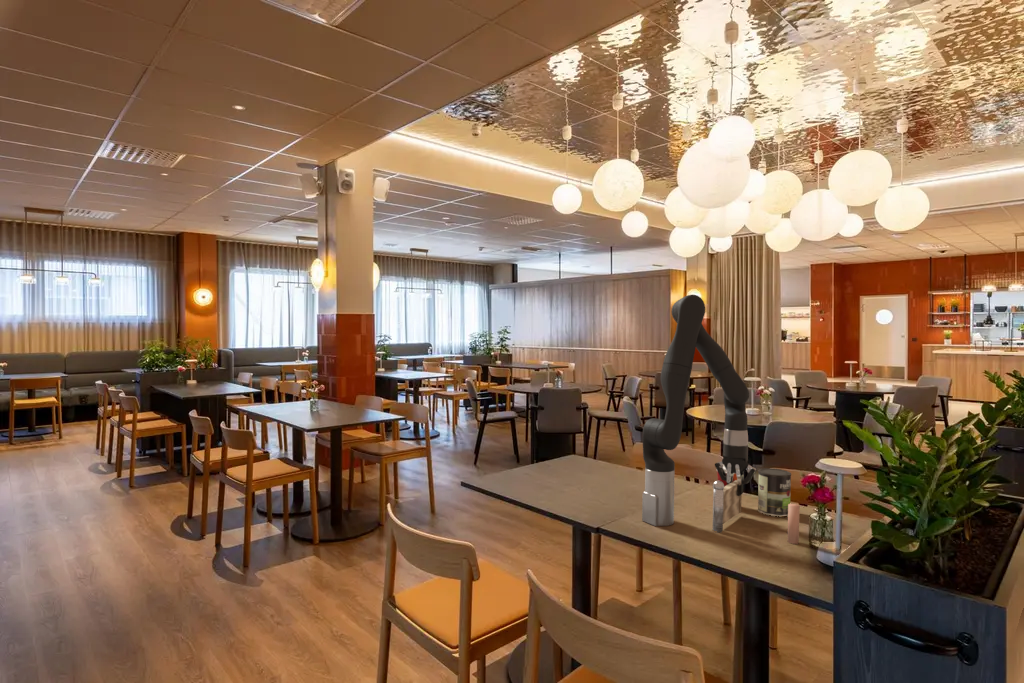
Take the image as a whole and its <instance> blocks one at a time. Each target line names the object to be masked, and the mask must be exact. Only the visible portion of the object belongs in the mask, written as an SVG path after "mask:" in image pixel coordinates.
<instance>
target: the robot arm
mask: <svg viewBox="0 0 1024 683" xmlns="http://www.w3.org/2000/svg"><path fill="white" fill-rule="evenodd" d="M705 313H706V305H705V302H704V300H703V298H701V297H700V296H699V295H696V294H688V295H685V296H683V297H682V298H680V299H678V300H676V301H675V302H674V303H673V304H672V307H671V316H672V318H673V320H674V322H675V323H676V329H675V333H674V336H673V338H672V340H671V343H670V345H669V347H668V349H667V351H666V353H665V356H664V359H663V363H662V366H661V371H660V384H661V387H662V392H663V394H664V396H665V402H666V403H665V404H666V409H665V416H664V419H660V418H655V417H654V418H653V417H651V418H649V419H648V420H646V422H645V423H644V425H643V428H642V438H641V440H642V457H643V462H644V464H645V466H644V467H645V468H644V471H645V473H644V474H645V475H644V491H642V501H641V502H642V504H641V506H642V508H641V509H642V510H641V511H642V512H641V513H642V514H641V515H642V516H641V519H642V520H641V521H643V522H644V523H648V524H649V525H651V526H654V527H658V526H660V527H665V526H671V525H673V524H674V523H675V522H674V521H675V466H676V464H675V461H674V460H673V459H672V458H671V457H670V456H669V455H668V454H667V453H666V451H665V450H667V451H672V450H675V449H676V448H677V447H678V446H679V444H680V440H681V437H682V433H683V432H682V431H683V421H684V412H685V411H684V410H685V404H686V398H687V392H688V389H689V388H688V387H689V383H690V380H691V375H692V370H693V364H694V363H693V362H694V357H695V354H696V350H697V351H698V352H699V354H700V356H701V357H702V359H703V361H704V362H705V364H706V365H707V367H708V369H709V371H710V373H711V374H712V375H713V378H714V379H715V380H716V381H717V382H718V383H719V385H720V388H721V389H722V391H723V405H724V433H723V440H722V441H723V447H722V448H723V451H722V452H723V454H722V455H723V457H722V459H721V461H718V462H715V463H714V467H715V469H717V470H716V472H717V471H718V473H719V475H720V477H721V479H722V480H724V481H726V482H727V485H728V484H730V483H732V481H733V475H734V473H735V474H736V476H737V482H738V485H737V496H741V494H742V495H743V493H744V485H747V484H748V483H750V481H751V480H752V479H753V477H754V475H755V473H756V472H757V471H758V469H757V468H756V466H755V467H753V466H752V465H750V462H749V459H748V458H749V456H748V455H749V435H748V433H749V432H748V415H747V412H746V404H747V402H748V400H749V398H750V391H749V388H748V387H747V385H746V383H745V382H744V381H743V379H742V377H740V375H739V374H738V372H737V371H736V369H735V367H734V365H733V363H732V362H731V360H730V358H729V356H728V354H727V353H726V352H725V351H724V349H723V348H722V347H721V346H720V344H719V343H717V341H716V340H715V339H714V338H713V337H712V335H710V334H709V333H708V332H707V330H706V328H705V327H704V325H703V321H704V317H705ZM723 465H724V466H725V468H726V469H727V475H726V473H725V471H724V469H723ZM746 470H747V475H746V476H745V478H744V475H745V473H744V472H745V471H746Z"/></svg>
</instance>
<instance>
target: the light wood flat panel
mask: <svg viewBox="0 0 1024 683" xmlns="http://www.w3.org/2000/svg"><path fill="white" fill-rule="evenodd" d="M737 485H738V482H737V480H735V481H733V482H732V483H730V484H728V485H726V486H725V487H724V494H723V525H724V524H725V523H727V522H729V520H731V519H733V518H734V517H736V515H738V514H740V513H742V500H743V499H742V498H743V496H742V495H743V494H741V496H737Z"/></svg>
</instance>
